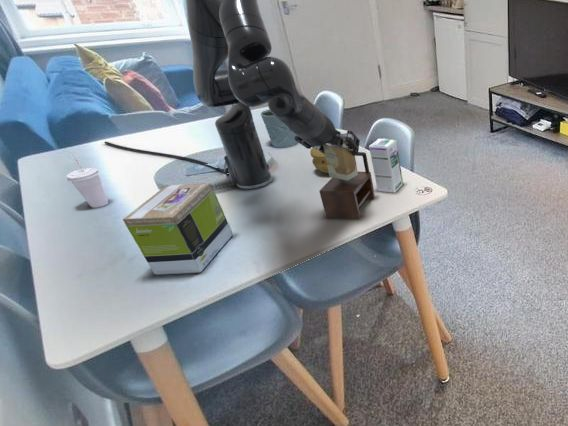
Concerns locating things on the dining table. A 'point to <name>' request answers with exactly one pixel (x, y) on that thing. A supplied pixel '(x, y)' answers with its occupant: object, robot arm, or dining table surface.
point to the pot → (319, 160)
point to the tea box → (179, 228)
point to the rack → (347, 194)
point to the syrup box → (386, 165)
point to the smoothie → (88, 185)
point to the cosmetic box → (340, 161)
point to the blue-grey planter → (278, 131)
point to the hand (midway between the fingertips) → (341, 151)
